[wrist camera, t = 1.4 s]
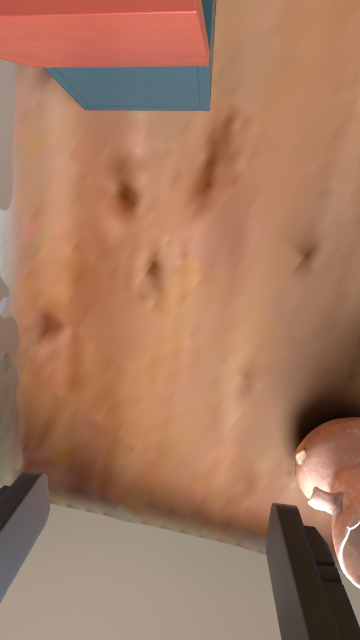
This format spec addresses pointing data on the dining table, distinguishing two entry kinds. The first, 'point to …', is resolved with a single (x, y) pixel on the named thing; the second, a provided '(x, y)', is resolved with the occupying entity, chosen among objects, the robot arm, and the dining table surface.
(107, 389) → the dining table surface
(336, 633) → the robot arm
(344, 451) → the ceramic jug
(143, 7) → the sorter lid
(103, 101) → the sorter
